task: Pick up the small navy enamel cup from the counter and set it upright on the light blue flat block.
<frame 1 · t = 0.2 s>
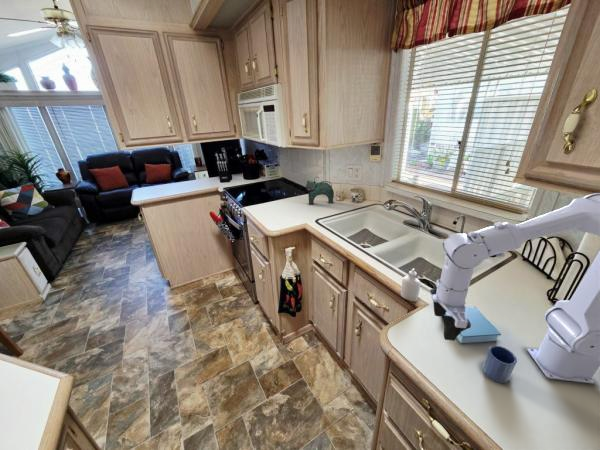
hand: (443, 326, 63), 10 cm above the worktop, tool pointing down, fingers open, 7 cm apart
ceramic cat: (320, 203, 183), on the worktop
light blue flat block: (467, 328, 74), on the worktop
cup: (495, 372, 61), on the worktop
eye dropper bottle: (408, 297, 88), on the worktop
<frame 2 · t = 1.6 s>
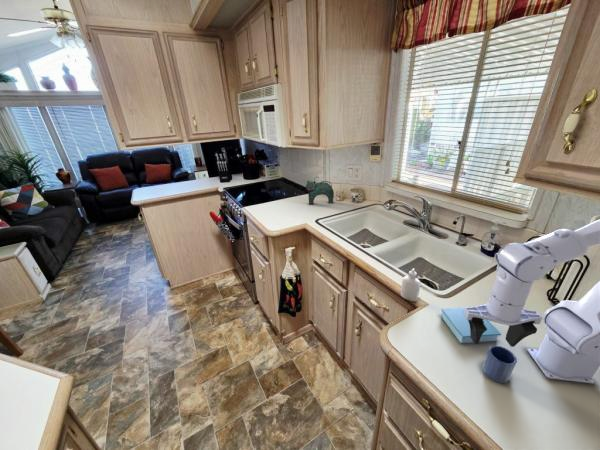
hand: (491, 341, 59), 9 cm above the worktop, tool pointing down, fingers open, 7 cm apart
nothing on the worktop moved.
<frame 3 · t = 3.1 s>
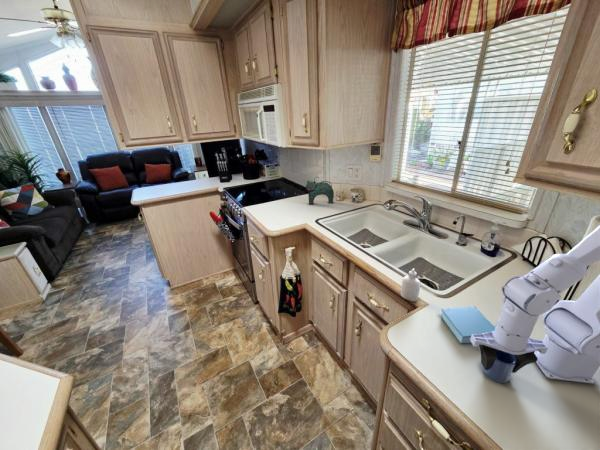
hand: (497, 367, 61), 2 cm above the worktop, tool pointing down, fingers closed on cup, 5 cm apart
cup: (495, 372, 61), on the worktop, touching gripper
everything else where it was.
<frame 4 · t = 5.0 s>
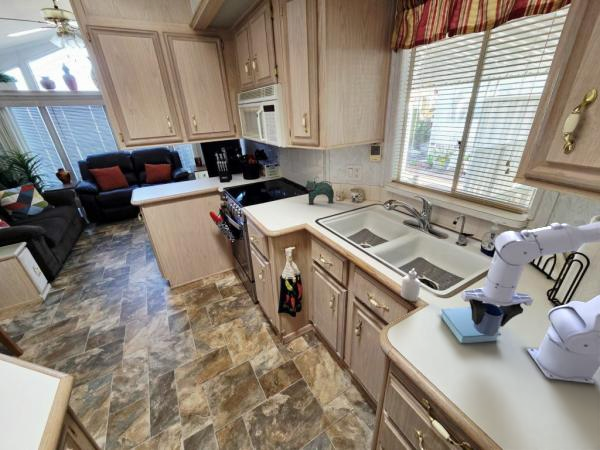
hand: (487, 322, 64), 9 cm above the worktop, tool pointing down, fingers closed on cup, 5 cm apart
cup: (485, 328, 65), point 7 cm above the worktop, touching gripper
everything else where it was.
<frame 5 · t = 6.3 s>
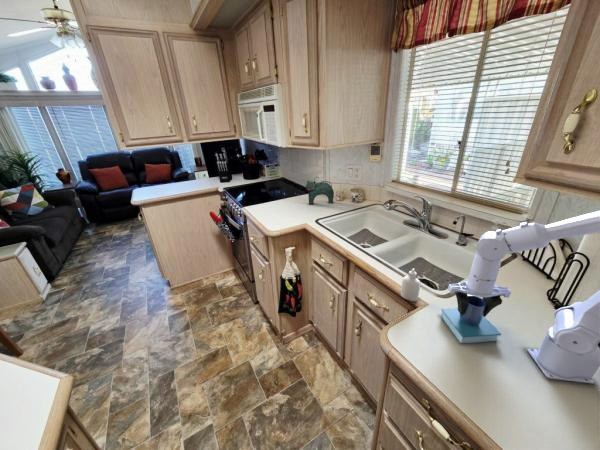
hand: (471, 313, 72), 6 cm above the worktop, tool pointing down, fingers closed on cup, 5 cm apart
cup: (469, 318, 73), point 4 cm above the worktop, touching gripper
everything else where it was.
when the fingers open (5 cm above the worktop, at t = 7.1 s): cup stays where it is, resting on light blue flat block.
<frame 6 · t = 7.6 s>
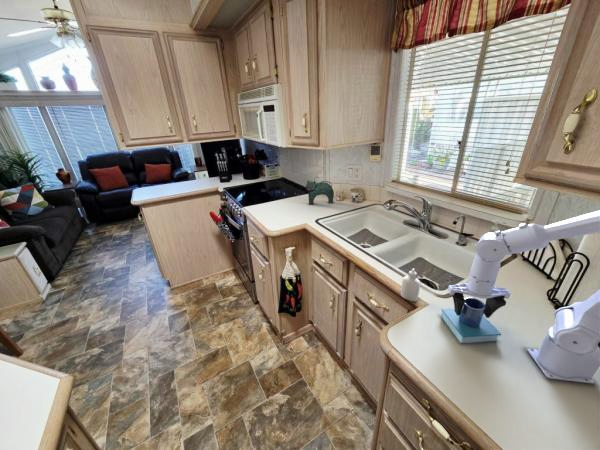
hand: (471, 314, 72), 6 cm above the worktop, tool pointing down, fingers open, 7 cm apart
cup: (469, 320, 73), point 3 cm above the worktop, touching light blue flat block
everything else where it was.
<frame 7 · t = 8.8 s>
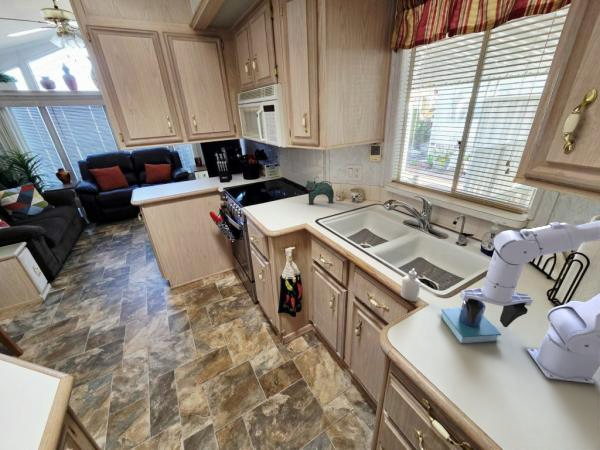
hand: (486, 322, 64), 9 cm above the worktop, tool pointing down, fingers open, 7 cm apart
nothing on the worktop moved.
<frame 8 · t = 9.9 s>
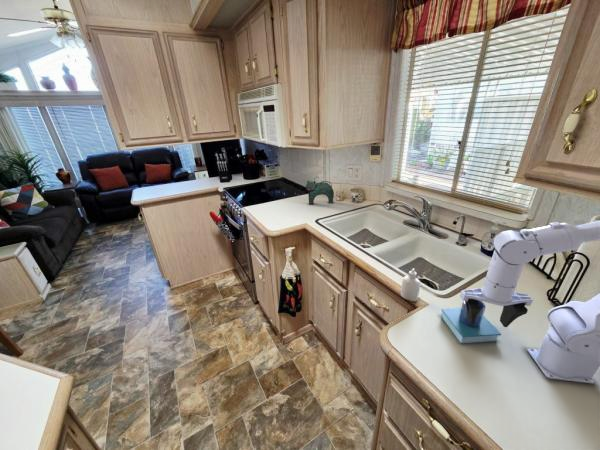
hand: (486, 322, 64), 9 cm above the worktop, tool pointing down, fingers open, 7 cm apart
nothing on the worktop moved.
at the end: cup inside the target area on the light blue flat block (0.1 cm from its centre), point 3.0 cm above the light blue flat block's base; cup tilted 0°; the gripper is holding nothing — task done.
